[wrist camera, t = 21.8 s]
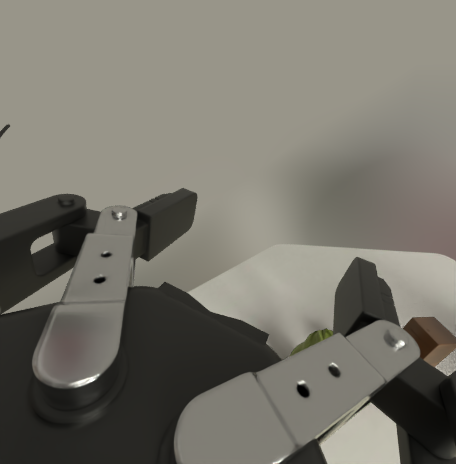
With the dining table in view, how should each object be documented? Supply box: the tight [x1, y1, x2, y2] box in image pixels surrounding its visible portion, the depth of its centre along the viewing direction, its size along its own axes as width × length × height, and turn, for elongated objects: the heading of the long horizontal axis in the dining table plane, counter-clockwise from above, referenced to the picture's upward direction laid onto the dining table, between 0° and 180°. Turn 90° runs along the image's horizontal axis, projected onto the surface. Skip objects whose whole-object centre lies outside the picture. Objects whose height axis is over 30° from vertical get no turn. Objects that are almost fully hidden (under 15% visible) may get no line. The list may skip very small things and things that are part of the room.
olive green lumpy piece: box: [290, 328, 333, 356], centre depth 33 cm, size 6×5×10 cm
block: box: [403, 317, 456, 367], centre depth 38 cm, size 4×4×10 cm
